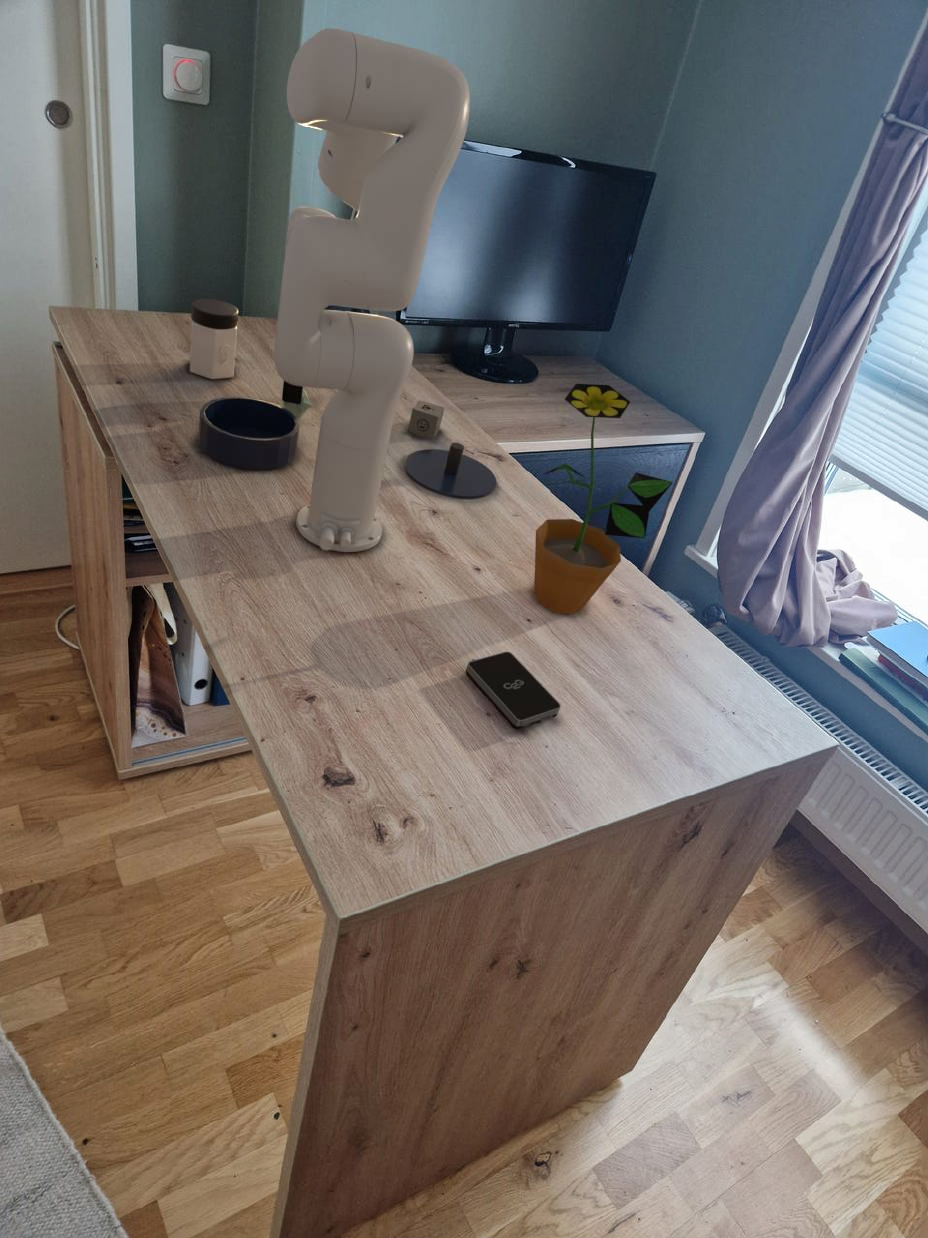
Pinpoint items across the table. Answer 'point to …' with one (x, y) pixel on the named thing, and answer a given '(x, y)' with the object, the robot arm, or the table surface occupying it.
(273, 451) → the tin
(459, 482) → the lid
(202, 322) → the jar
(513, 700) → the external hard drive
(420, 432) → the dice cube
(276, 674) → the table surface
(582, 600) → the potted plant
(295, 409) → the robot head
